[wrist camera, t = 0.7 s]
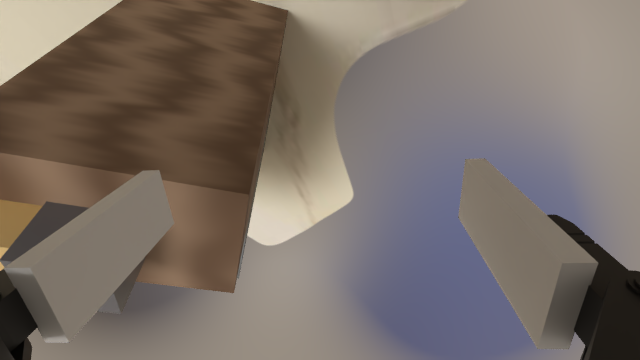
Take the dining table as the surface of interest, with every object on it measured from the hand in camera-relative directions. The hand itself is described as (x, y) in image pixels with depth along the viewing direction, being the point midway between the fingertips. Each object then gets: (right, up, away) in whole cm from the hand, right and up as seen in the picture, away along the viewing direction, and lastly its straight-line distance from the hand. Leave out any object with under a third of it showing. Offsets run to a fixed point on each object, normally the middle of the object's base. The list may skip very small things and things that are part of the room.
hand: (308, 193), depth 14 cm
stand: (-14, +16, +35) cm, 41 cm away
